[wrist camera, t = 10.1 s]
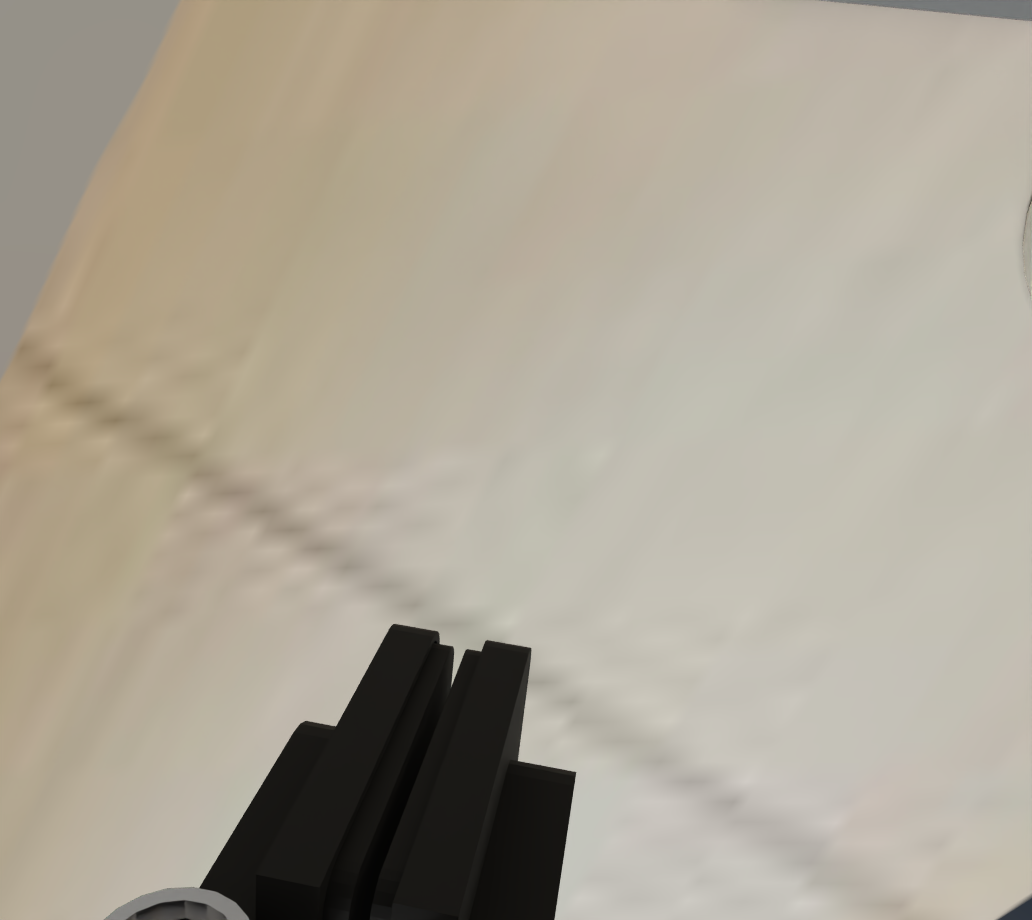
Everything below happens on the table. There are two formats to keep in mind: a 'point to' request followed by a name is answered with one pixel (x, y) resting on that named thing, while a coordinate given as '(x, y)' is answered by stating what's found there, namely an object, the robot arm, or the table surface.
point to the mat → (959, 7)
